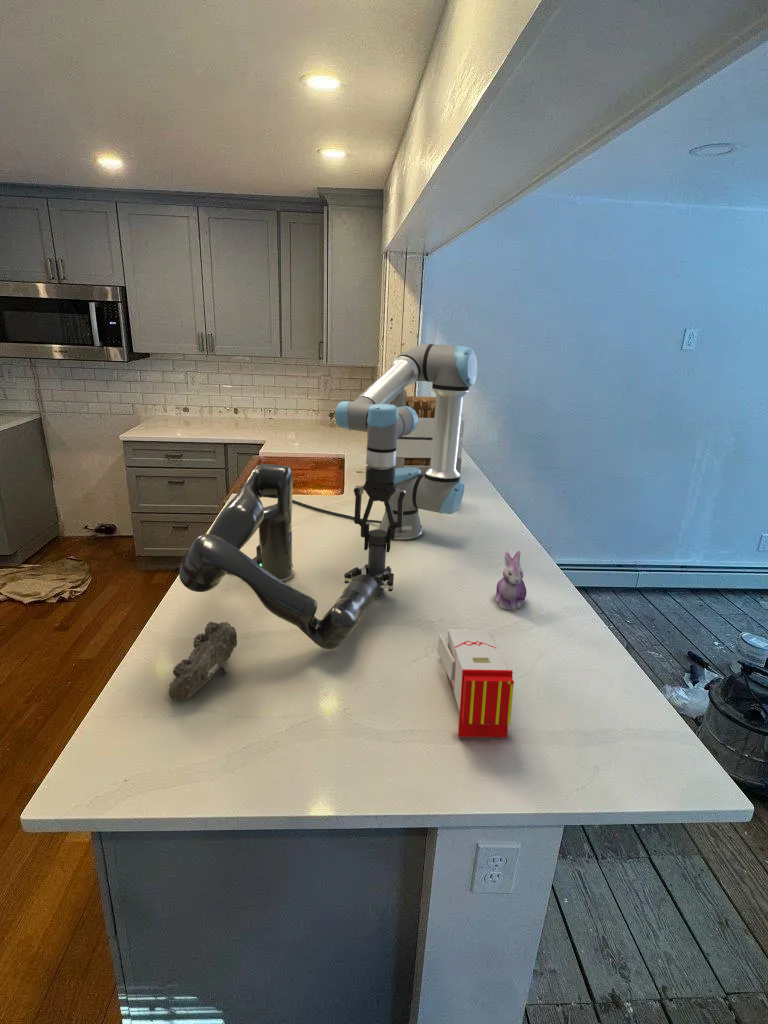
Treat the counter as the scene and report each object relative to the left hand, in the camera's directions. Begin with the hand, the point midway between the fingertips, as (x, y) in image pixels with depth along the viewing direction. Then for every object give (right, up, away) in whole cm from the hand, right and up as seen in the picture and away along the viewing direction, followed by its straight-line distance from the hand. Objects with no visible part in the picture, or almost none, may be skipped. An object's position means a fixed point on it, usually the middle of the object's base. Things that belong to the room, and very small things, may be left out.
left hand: (379, 567), depth 157 cm
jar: (-1, -7, 0) cm, 7 cm away
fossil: (-36, -19, -36) cm, 55 cm away
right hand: (0, +6, -5) cm, 7 cm away
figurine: (+36, -10, -2) cm, 37 cm away
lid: (0, +10, -6) cm, 11 cm away
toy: (+19, -22, -39) cm, 49 cm away
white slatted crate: (+19, +34, +118) cm, 124 cm away
